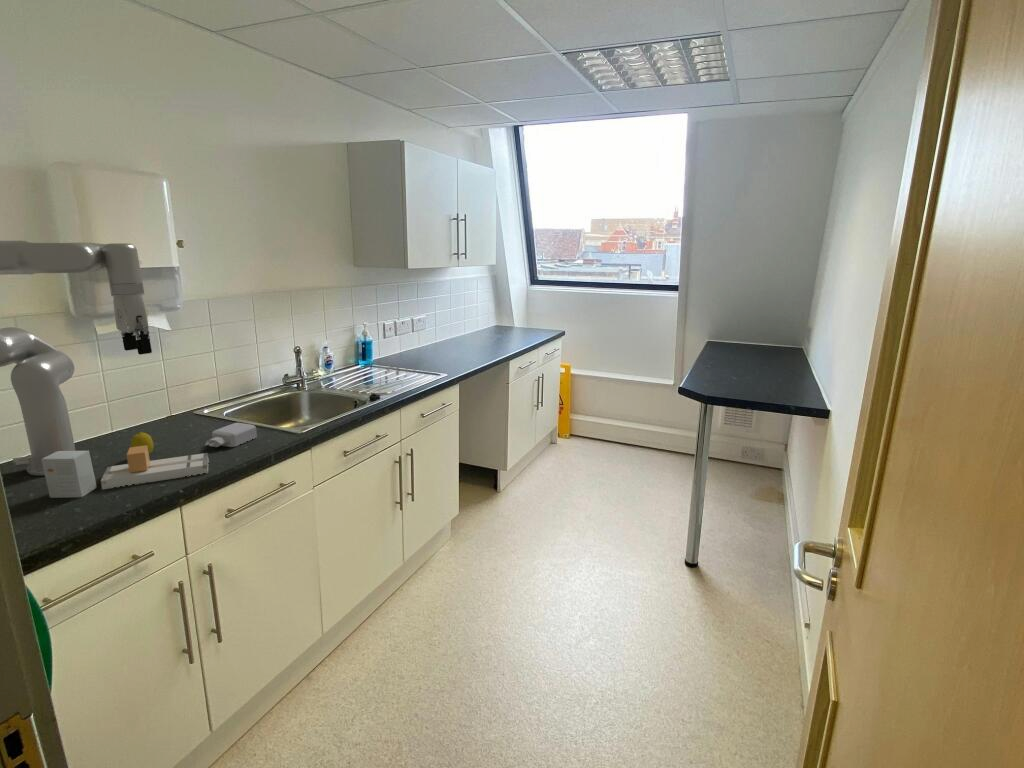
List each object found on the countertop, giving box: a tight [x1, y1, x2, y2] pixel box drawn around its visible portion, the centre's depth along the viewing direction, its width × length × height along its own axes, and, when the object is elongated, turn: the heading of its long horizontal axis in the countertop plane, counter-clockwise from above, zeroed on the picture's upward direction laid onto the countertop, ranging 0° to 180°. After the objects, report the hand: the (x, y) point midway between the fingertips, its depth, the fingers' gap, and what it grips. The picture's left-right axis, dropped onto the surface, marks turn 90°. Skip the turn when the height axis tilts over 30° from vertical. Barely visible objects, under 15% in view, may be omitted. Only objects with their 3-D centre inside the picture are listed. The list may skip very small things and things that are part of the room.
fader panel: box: [100, 452, 210, 490], centre depth 152 cm, size 24×10×3 cm, turn 117°
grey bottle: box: [204, 422, 258, 448], centre depth 175 cm, size 5×9×15 cm
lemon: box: [130, 431, 155, 455], centre depth 162 cm, size 6×6×8 cm
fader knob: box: [126, 445, 151, 472], centre depth 149 cm, size 4×6×6 cm, turn 27°
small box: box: [41, 450, 98, 499], centre depth 139 cm, size 8×6×10 cm
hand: (138, 351), depth 155 cm, fingers open, 9 cm apart
